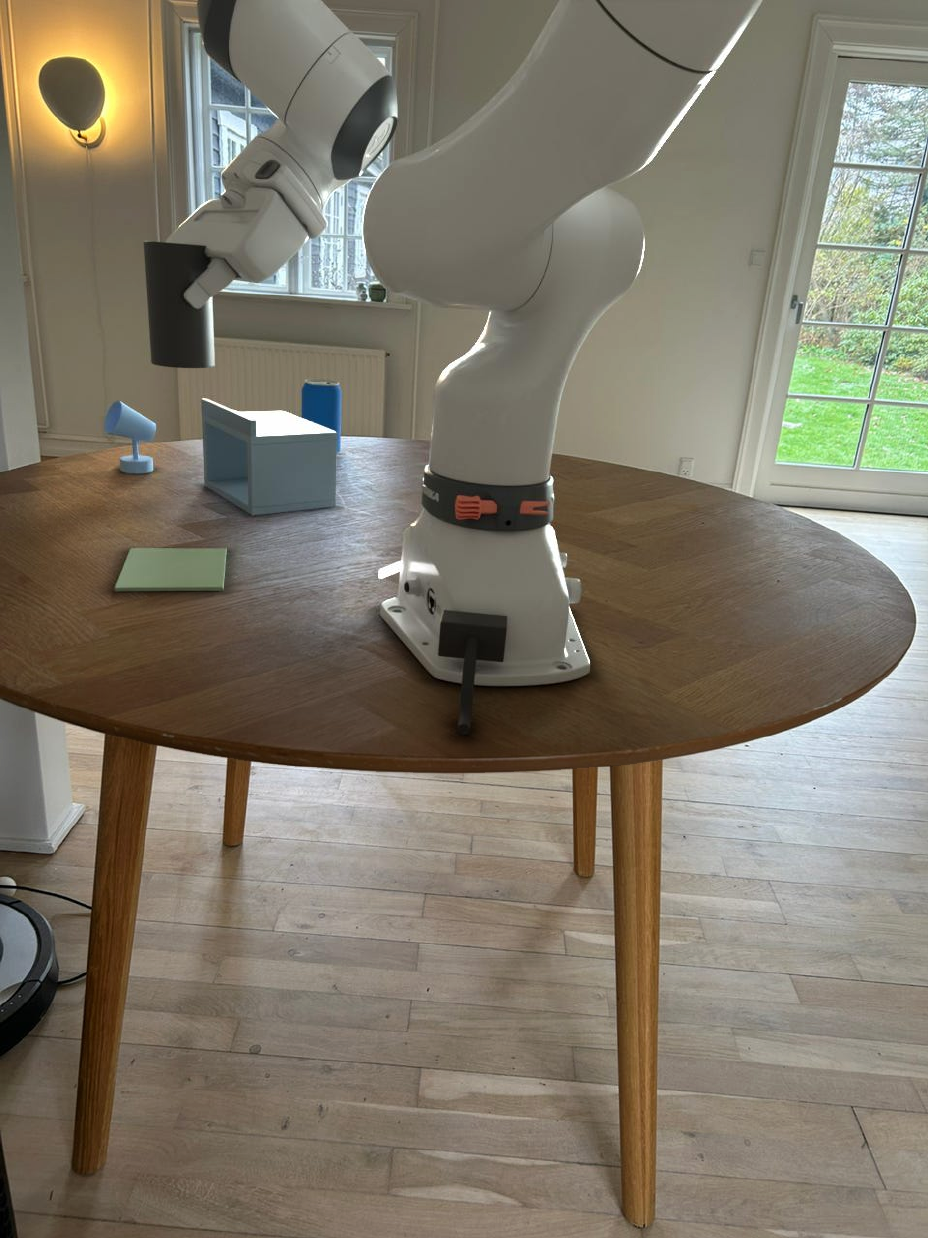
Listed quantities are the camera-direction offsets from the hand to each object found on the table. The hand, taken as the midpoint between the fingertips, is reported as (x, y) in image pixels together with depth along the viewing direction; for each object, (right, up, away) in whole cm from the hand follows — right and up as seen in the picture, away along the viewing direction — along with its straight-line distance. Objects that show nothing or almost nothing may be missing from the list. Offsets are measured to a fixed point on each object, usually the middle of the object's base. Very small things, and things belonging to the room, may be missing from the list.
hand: (174, 299), depth 82 cm
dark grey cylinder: (0, -5, +3) cm, 6 cm away
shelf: (+1, -14, +35) cm, 38 cm away
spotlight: (-20, -9, +43) cm, 48 cm away
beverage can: (+4, -3, +62) cm, 62 cm away
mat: (-2, -26, +6) cm, 26 cm away
